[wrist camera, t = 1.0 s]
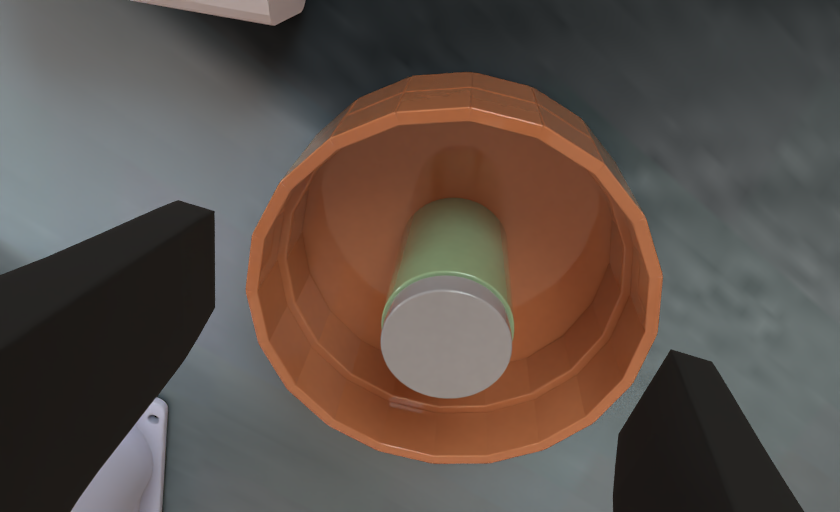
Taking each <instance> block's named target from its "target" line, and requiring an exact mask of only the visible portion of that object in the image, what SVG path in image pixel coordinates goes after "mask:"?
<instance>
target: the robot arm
mask: <svg viewBox="0 0 840 512" xmlns="http://www.w3.org/2000/svg"><path fill="white" fill-rule="evenodd" d="M214 308H215V220H214V211H212V210H209V209H205V208H202V207H199V206H195V205H192V204H189V203H186V202H182V201H179V200H178V201H175V202H172V203H170V204H167V205H165V206H162V207H160V208H158V209H155V210H153V211H151V212H148V213H146V214H144V215H141V216H139V217H137V218H135V219H132V220H130V221H128V222H126V223H123V224H121V225H119V226H117V227H115V228H112V229H110V230H108V231H106V232H103V233H101V234H99V235H96V236H94V237H92V238H90V239H87V240H85V241H83V242H80V243H78V244H76V245H73V246H71V247H69V248H67V249H64V250H62V251H60V252H57V253H55V254H53V255H50V256H48V257H46V258H43V259H41V260H38V261H35V262H33V263H30V264H28V265H25V266H23V267H20V268H17V269H15V270H12V271H10V272H7V273H5V274H2V275H0V512H162V505H163V487H164V470H165V452H166V435H167V417H168V406H167V404H166V402H165V401H163V400H162V399H160V398H157V396H158V394H159V393H160V392H161V390H162V389H163V388H164V386H165V385H166V384H167V382H168V381H169V380H170V379H171V377H172V376H173V375H174V373H175V372H176V371H177V369H178V368H179V367H180V365H181V364H182V363H183V361H184V360H185V358H186V357H187V355H188V353H189V352H190V350H191V348H192V347H193V345H194V343H195V342H196V340H197V338H198V337H199V335H200V333H201V331H202V330H203V328H204V326H205V324H206V323H207V321H208V319H209V317H210V315H211V314H212V312H213V310H214ZM153 415H155V416H157V417H158V418H156V417H154V416H153ZM613 512H804V511H803V509H802V508H801V506H800V505H799V503H798V501H797V500H796V498H795V497H794V495H793V494H792V492H791V491H790V489H789V487H788V486H787V484H786V483H785V481H784V479H783V478H782V476H781V475H780V473H779V471H778V470H777V468H776V467H775V465H774V463H773V462H772V460H771V459H770V457H769V455H768V454H767V452H766V450H765V449H764V447H763V446H762V444H761V442H760V441H759V439H758V437H757V436H756V434H755V432H754V430H753V429H752V427H751V425H750V424H749V422H748V420H747V419H746V417H745V415H744V414H743V412H742V410H741V409H740V407H739V405H738V404H737V402H736V400H735V399H734V397H733V395H732V394H731V392H730V390H729V389H728V387H727V385H726V384H725V382H724V380H723V379H722V377H721V375H720V374H719V372H718V371H717V369H716V367H715V366H714V364H713V363H712V362H711V361H707V360H704V359H701V358H698V357H694V356H691V355H688V354H684V353H681V352H678V351H674V350H670V352H669V353H668V355H667V357H666V358H665V360H664V361H663V363H662V365H661V366H660V368H659V370H658V371H657V373H656V374H655V376H654V378H653V379H652V381H651V382H650V384H649V386H648V387H647V389H646V391H645V392H644V394H643V395H642V397H641V399H640V400H639V402H638V404H637V405H636V407H635V408H634V410H633V412H632V413H631V415H630V416H629V418H628V420H627V421H626V423H625V425H624V426H623V428H622V429H621V431H620V433H619V435H618V445H617V455H616V464H615V476H614V489H613Z"/></svg>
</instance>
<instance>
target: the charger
mask: <svg viewBox="0 0 840 512" xmlns="http://www.w3.org/2000/svg"><path fill="white" fill-rule="evenodd" d="M130 1H136V2H142V3H147V4H153V5H159V6H164V7H170V8H176V9H182V10H187V11H193V12H199V13H204V14H210V15H216V16H221V17H227V18H233V19H238V20H244V21H250V22H256V23H261V24H267V25H273V26H275V25H277V24H279V23H281V22H283V21H285V20H287V19H289V18H291V17H293V16H295V15H297V14H299V13H301V12H302V10H303V8H304V4H305V1H306V0H130Z"/></svg>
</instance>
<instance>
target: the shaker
mask: <svg viewBox="0 0 840 512" xmlns="http://www.w3.org/2000/svg"><path fill="white" fill-rule="evenodd" d="M381 330H382V331H381V337H380V345H381V352H382V355H383V358H384V360H385V362H386V365H387V366H388V368H389V369H390V371H391V372H392V374H393V375H394V376H395V377H396V378H397V379H398V380H399V381H400V382H402V383H403V384H404V385H406V386H407V387H409V388H410V389H412V390H414V391H416V392H419V393H421V394H424V395H427V396H430V397H436V398H445V399H453V398H462V397H467V396H471V395H474V394H476V393H479V392H481V391H483V390H485V389H487V388H488V387H490V386H491V385H492V384H493V383H495V382H496V381H497V380H498V379H499V378H500V377H501V375H502V374H503V373H504V371H505V370H506V368H507V366H508V364H509V362H510V358H511V355H512V342H513V338H514V331H515V328H514V313H513V301H512V288H511V276H510V264H509V251H508V240H507V235H506V232H505V229H504V227H503V225H502V223H501V222H500V221H499V219H498V218H497V217H496V216H495V215H494V213H493V212H491V211H490V210H489V209H488V208H486V207H485V206H483V205H481V204H479V203H477V202H475V201H471V200H468V199H463V198H444V199H439V200H436V201H433V202H430V203H428V204H426V205H425V206H423V207H421V208H420V209H419V210H418V211H416V212H415V213H414V214H413V215H412V217H411V218H410V219H409V221H408V222H407V224H406V226H405V228H404V231H403V234H402V238H401V241H400V245H399V249H398V253H397V257H396V261H395V265H394V269H393V273H392V277H391V281H390V285H389V289H388V293H387V297H386V301H385V305H384V309H383V313H382V318H381Z"/></svg>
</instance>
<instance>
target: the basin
mask: <svg viewBox="0 0 840 512" xmlns="http://www.w3.org/2000/svg"><path fill="white" fill-rule="evenodd" d="M444 198H463V199H468V200H471V201H475V202H477V203H479V204H481V205H483V206H485V207H486V208H488V209H489V210H490V211H491V212H493V213H494V215H495V216H496V217H497V218H498V219H499V221H500V222H501V223H502V225H503V227H504V229H505V232H506V235H507V240H508V251H509V264H510V276H511V288H512V301H513V313H514V328H515V331H514V338H513V342H512V355H511V358H510V362H509V364H508V366H507V368H506V370H505V371H504V373H503V374H502V375H501V377H500V378H499V379H498V380H497V381H496V382H495V383H493V384H492V385H491V386H490V387H488V388H487V389H485V390H483V391H481V392H479V393H476V394H474V395H471V396H467V397H462V398H453V399H445V398H436V397H430V396H427V395H424V394H421V393H419V392H416V391H414V390H412V389H410V388H409V387H407V386H406V385H404V384H403V383H402V382H400V381H399V380H398V379H397V378H396V377H395V376H394V375H393V374H392V372H391V371H390V369H389V368H388V366H387V365H386V362H385V360H384V358H383V355H382V352H381V345H380V337H381V331H382V330H381V318H382V313H383V309H384V305H385V301H386V297H387V293H388V289H389V285H390V281H391V277H392V273H393V269H394V265H395V261H396V257H397V253H398V249H399V245H400V241H401V238H402V234H403V231H404V228H405V226H406V224H407V222H408V221H409V219H410V218H411V217H412V215H413V214H414V213H415V212H416V211H418V210H419V209H420V208H421V207H423V206H425V205H426V204H428V203H430V202H433V201H436V200H439V199H444ZM662 275H663V274H662V270H661V267H660V264H659V260H658V257H657V254H656V250H655V247H654V243H653V240H652V237H651V233H650V230H649V226H648V223H647V220H646V217H645V215H644V213H643V212H642V210H641V208H640V206H639V204H638V202H637V201H636V199H635V197H634V195H633V193H632V192H631V190H630V188H629V186H628V185H627V183H626V181H625V179H624V177H623V176H622V174H621V172H620V170H619V168H618V166H617V165H616V163H615V161H614V160H613V159H612V158H611V156H610V155H609V154H608V152H607V151H606V150H605V148H604V147H603V146H602V144H601V143H600V142H599V141H598V139H597V138H596V137H595V135H594V134H593V133H592V131H591V130H590V129H589V127H588V126H587V125H586V124H585V122H584V121H583V120H582V119H581V118H580V117H578V116H577V115H575V114H573V113H572V112H570V111H569V110H567V109H566V108H564V107H563V106H561V105H560V104H558V103H557V102H555V101H553V100H552V99H550V98H549V97H547V96H546V95H544V94H543V93H541V92H540V91H538V90H537V89H535V88H533V87H532V88H531V87H530V86H527V85H523V84H519V83H515V82H511V81H507V80H503V79H499V78H495V77H491V76H487V75H483V74H479V73H475V72H474V73H472V72H460V73H446V74H432V75H418V76H412V77H408V78H406V79H403V80H401V81H399V82H396V83H394V84H391V85H389V86H387V87H384V88H382V89H379V90H377V91H375V92H372V93H370V94H367V95H365V96H363V97H360V98H358V100H355V101H354V102H353V103H352V104H350V105H349V106H348V107H347V108H346V109H345V110H344V111H343V112H342V113H340V114H339V115H338V116H337V117H336V118H335V119H334V120H333V121H331V122H330V123H329V124H328V125H327V126H326V127H325V128H324V129H323V130H321V131H320V132H319V133H318V134H317V135H316V136H315V138H314V139H313V140H312V141H311V143H310V144H309V145H308V147H307V148H306V149H305V151H304V152H303V153H302V154H301V156H300V157H299V158H298V159H297V161H296V162H295V163H294V164H293V166H292V167H291V168H290V170H289V171H288V172H287V174H286V175H285V176H284V177H283V179H282V180H281V181H280V183H279V184H278V186H277V188H276V190H275V192H274V194H273V196H272V198H271V200H270V201H269V203H268V205H267V207H266V209H265V211H264V213H263V215H262V217H261V218H260V220H259V222H258V224H257V226H256V228H255V230H254V232H253V235H252V239H251V248H250V256H249V265H248V273H247V282H246V294H247V299H248V303H249V307H250V311H251V315H252V319H253V323H254V327H255V332H256V336H257V340H258V343H259V345H260V347H261V348H262V350H263V352H264V353H265V355H266V356H267V358H268V360H269V361H270V363H271V364H272V366H273V368H274V369H275V371H276V372H277V374H278V376H279V377H280V379H281V380H282V382H283V384H284V385H285V387H286V388H287V389H288V391H290V392H291V393H292V394H293V395H294V396H295V397H296V398H297V399H299V400H300V401H301V402H302V403H303V404H304V405H305V406H306V407H308V408H309V409H310V410H311V411H312V412H313V413H314V414H316V415H317V416H318V417H319V418H320V419H321V420H322V421H323V422H325V423H326V424H327V425H329V426H330V427H332V428H334V429H336V430H338V431H340V432H342V433H344V434H346V435H347V436H349V437H351V438H353V439H355V440H357V441H359V442H361V443H363V444H365V445H367V446H369V447H371V448H373V449H375V450H378V451H381V452H385V453H389V454H393V455H398V456H402V457H406V458H411V459H415V460H419V461H423V462H428V463H433V464H488V463H493V462H497V461H501V460H506V459H510V458H514V457H518V456H522V455H526V454H530V453H534V452H538V451H542V450H545V449H547V448H549V447H551V446H552V445H554V444H556V443H558V442H560V441H562V440H563V439H565V438H567V437H569V436H571V435H573V434H574V433H576V432H578V431H580V430H582V429H584V428H585V427H587V426H589V425H591V424H593V423H594V422H595V421H596V420H597V419H598V418H599V417H600V416H601V415H602V414H603V413H604V412H605V411H606V410H607V409H608V408H609V407H610V406H611V405H612V404H613V403H614V402H615V401H616V400H617V399H618V398H619V397H620V396H621V395H622V394H623V393H624V392H625V391H626V390H627V389H628V388H629V387H630V386H631V385H632V383H633V382H634V380H635V378H636V376H637V374H638V372H639V370H640V368H641V366H642V364H643V362H644V360H645V358H646V356H647V354H648V352H649V350H650V348H651V346H652V344H653V342H654V340H655V337H656V335H657V332H658V324H659V313H660V303H661V292H662V281H663V276H662Z"/></svg>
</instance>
